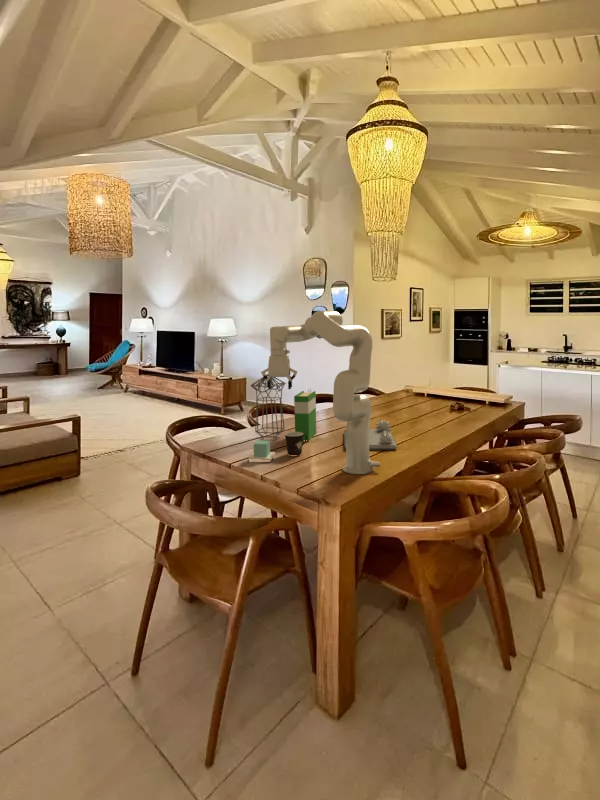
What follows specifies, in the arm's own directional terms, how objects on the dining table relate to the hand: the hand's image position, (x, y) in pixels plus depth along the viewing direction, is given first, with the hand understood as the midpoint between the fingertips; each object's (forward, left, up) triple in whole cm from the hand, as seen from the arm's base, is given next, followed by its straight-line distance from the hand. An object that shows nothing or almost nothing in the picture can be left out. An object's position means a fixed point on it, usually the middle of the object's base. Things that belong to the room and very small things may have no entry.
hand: (279, 388), depth 216 cm
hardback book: (-8, -26, -31) cm, 41 cm away
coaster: (+6, +15, -30) cm, 34 cm away
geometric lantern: (+11, -23, -31) cm, 40 cm away
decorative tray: (-42, -21, -31) cm, 56 cm away
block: (+6, +15, -28) cm, 33 cm away
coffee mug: (-9, +6, -31) cm, 32 cm away
